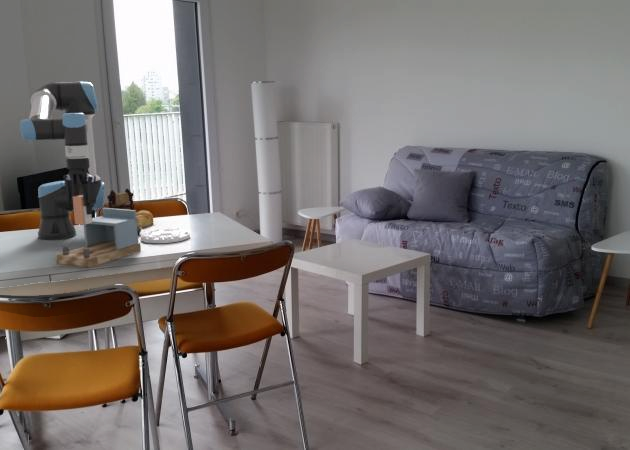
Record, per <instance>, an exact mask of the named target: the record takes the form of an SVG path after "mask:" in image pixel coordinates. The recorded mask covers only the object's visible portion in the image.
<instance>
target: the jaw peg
mask: <svg viewBox="0 0 630 450" xmlns="http://www.w3.org/2000/svg"><path fill="white" fill-rule="evenodd" d="M84 204H85V203H84V199H83V195H78V196H73V206H74V213H73V214H74V215H73V216H75V217H74V224H75V225H82V226H84V225H86V224H85V220H84V209H83V206H84ZM89 224H90V223H89Z"/></svg>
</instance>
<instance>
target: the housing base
mask: <svg viewBox="0 0 630 450" xmlns="http://www.w3.org/2000/svg"><path fill="white" fill-rule="evenodd" d="M141 248H142V247H141V243H140V242H138V244H134V245H131V246H128V247H125V248H122V249H118V250H117V249H116V244H115V241H104V242H100V243H97V244H93V245H90V246H86V245H85V246H82V247H79V248H75V249H72V250H70V249H69V245H62V246H61V249H62V253H61V252H60V253H57V254H55V255H56V256H55V257H56V263H57V264H61V265H63V264H64V265H68V264H69V265H71V266H77V267H84V268H93V267H95V266H99V265H102V264H105V263H109V262H111V261H114V260H117V259H120V258H123V257H126V255H127V256H129V254H130V255H132V253H133V254H134V253H138V252H141V250H142V249H141ZM119 257H120V258H119ZM116 258H117V259H116Z"/></svg>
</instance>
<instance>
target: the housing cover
mask: <svg viewBox="0 0 630 450" xmlns="http://www.w3.org/2000/svg"><path fill="white" fill-rule="evenodd" d="M101 211H102V215H101V216H97V217H92V223H90V224H86V225H83V233H84V242H85V244H84V245H85V246H90V245H93V244H97V243H100V242H104V241H115V244H116V249H117V250H118V249H122V248H125V247H128V246H131V245H134V244H138V243H139V236H138V231H137V217H136V213H137V210H136V209H133V210H131V209H127V208H125V209H113V208H108V207H102V208H101Z"/></svg>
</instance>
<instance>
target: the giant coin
mask: <svg viewBox="0 0 630 450" xmlns="http://www.w3.org/2000/svg"><path fill="white" fill-rule="evenodd" d="M189 238H190V231H188V230H185V229H179V227H172V228H171V227H164V228H163V229H160V228H155V229H149V230H147V231H143V232H142V233H140V241H142V242H145V243H146V244H169V243H177V242H182V241H185V240H187V239H189Z"/></svg>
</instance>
